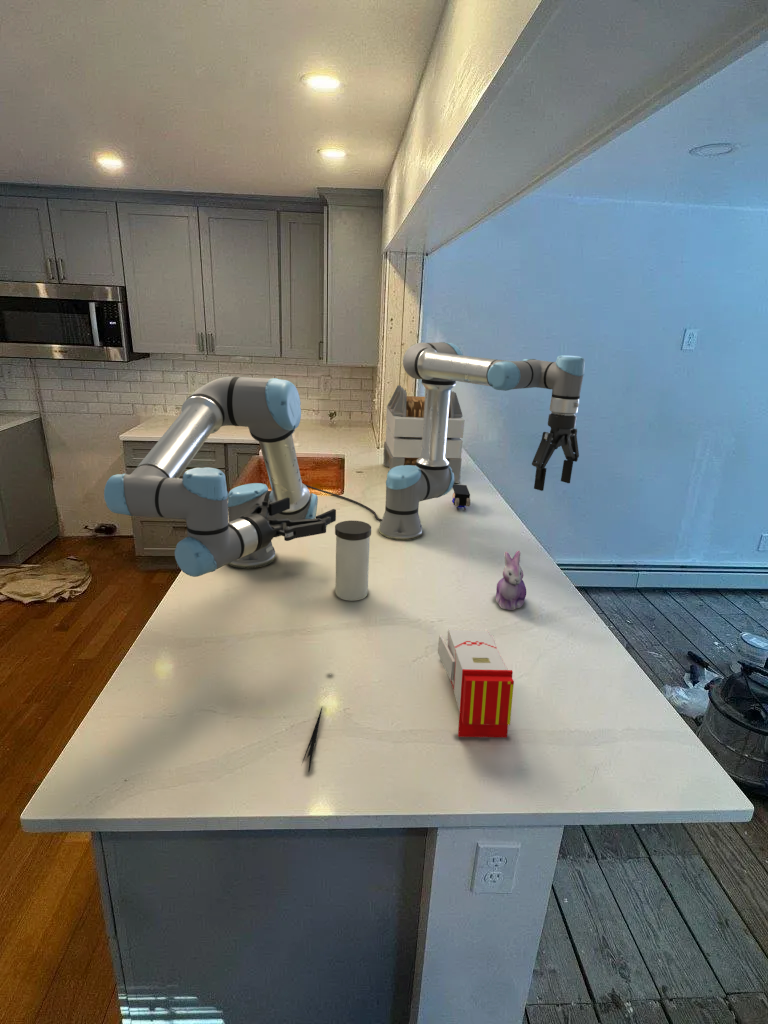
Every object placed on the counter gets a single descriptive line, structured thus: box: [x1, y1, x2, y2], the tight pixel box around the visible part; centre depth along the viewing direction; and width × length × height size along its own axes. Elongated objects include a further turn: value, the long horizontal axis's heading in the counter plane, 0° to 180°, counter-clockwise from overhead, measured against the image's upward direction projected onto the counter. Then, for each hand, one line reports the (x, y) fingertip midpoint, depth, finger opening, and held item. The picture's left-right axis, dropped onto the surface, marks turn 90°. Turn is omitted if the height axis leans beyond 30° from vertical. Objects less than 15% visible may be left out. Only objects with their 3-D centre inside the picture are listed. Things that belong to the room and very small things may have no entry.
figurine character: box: [451, 483, 471, 512], centre depth 229 cm, size 7×8×15 cm
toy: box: [437, 628, 515, 738], centre depth 117 cm, size 12×13×30 cm
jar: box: [334, 535, 371, 601], centre depth 154 cm, size 9×9×19 cm
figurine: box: [495, 550, 527, 611], centre depth 153 cm, size 9×10×15 cm
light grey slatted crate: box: [383, 384, 465, 484], centre depth 268 cm, size 34×33×41 cm
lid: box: [334, 520, 372, 540], centre depth 151 cm, size 10×10×2 cm
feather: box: [301, 673, 332, 771], centre depth 108 cm, size 2×28×2 cm
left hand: (311, 508), depth 133 cm, fingers open, 13 cm apart
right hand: (552, 485), depth 166 cm, fingers open, 13 cm apart
